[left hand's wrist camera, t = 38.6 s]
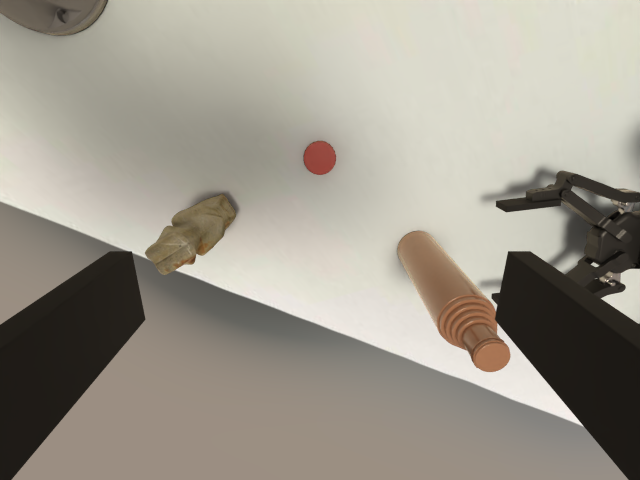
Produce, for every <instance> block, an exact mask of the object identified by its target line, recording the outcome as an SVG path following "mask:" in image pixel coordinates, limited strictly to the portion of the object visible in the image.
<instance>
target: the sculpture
mask: <svg viewBox="0 0 640 480" xmlns="http://www.w3.org/2000/svg"><path fill="white" fill-rule="evenodd" d="M235 217H236V213H235V210H234V209H233V207H232V206H231V205H230V203H229V202H228V200H227V198H226V197H225V196H224V194H221V195H218V196H216V197H212V198H209V199H206V200H204V201H202V202H200V203H198V204H196V205H194V206H192V207H190V208H188V209H185V210H183V211H180V212H178V213H177V214H176V215H175V216H174V217H173V218H172V225H173V226H167V227H165V228H164V230H163V232H162V233H161V235H160V237H159V239H158V240H157V242H156V243H154V244H153V245H151V246H150V247H149V248H148V249H147V250H146V252H145V254H146V256H147V258H148V259H150V260H151V261H152V262H153V263H154V264H155V266H156V267H157V269H158V271H159V272H160V273H161V274H163V275H166V274H168V273H170V272H172V271H174V270H176V269H177V268H179V267H181V266H182V265H184V264H190V265H192V264H194V262H195V258H196V253H197V254H198V255H201V256H203V255H205V254H206V253H207V252H208V251H209V250H210V249H212V248H213V247H214V246H215V244H216V243H217V242H218V241H219V240H220V239H221V238H222V237H223V236H224V232H225V229H226V228H227V227H229V225H230V224H231V223H232V222H233V220H234V219H235Z"/></svg>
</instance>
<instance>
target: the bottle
mask: <svg viewBox="0 0 640 480" xmlns="http://www.w3.org/2000/svg"><path fill="white" fill-rule="evenodd" d="M397 252H398V256H399V259H400V260H401V262H402V264H403V266H404V268H405V270H406V272H407V274H408V275H409V277H410V279H411V281H412V283H413V285H414V287H415V288H416V290H417V292H418V294H419V296H420V298H421V300H422V301H423V303H424V305H425V307H426V309H427V311H428V313H429V314H430V316H431V318H432V320H433V322H434V324H435V326H436V327H437V329H438V331H439V333H440V335H441V336H442V337H443V338H444V339H445V340H446V341H448V342H449V343H450V344H452V345H454V346H457V347H460V348H462V349H464V350H467V351H468V353H469V354H470V356H471V359H472V361H473V363H474V365H475V366H476V367H477V368H479V369H481V370H482V371H485V372H495V371H498V370H500V369H502V368H503V367H505V366H506V365H507V363H508V362H509V360H510V350H509V347H508V346H507V345H506V344H505V343H504V341H503V340H502V339H500V338H499V336H498V335H497V322H496V321H495V315H496V311H495V309H494V306H493V305H492V303H491V302H490V301H489V300H488V299H487V298H486V297H485V295H484V294H483V293H482V292H481V291H480V290H479V289H478V288H477V286H476V285H475V284H474V283H473V282H472V281H471V280H470V279H469V277H468V276H467V275H466V274H465V273H464V272H463V271H462V270H461V268H460V267H459V266H458V265H457V264H456V263H455V262H454V261H453V259H452V258H451V257H450V256H449V255H448V254H447V253H446V252H445V250H444V249H443V248H442V247H441V246H440V245H439V244H438V243H437V242H436V240H435V239H434V238H433V237H432V236H431V235H430V234H428V233H426V232H423V231H414V232H411V233H409V234H407V235H405V236H404V237H403V238H402V239H401V241H400V242H399V245H398V249H397Z"/></svg>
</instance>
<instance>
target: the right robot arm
mask: <svg viewBox="0 0 640 480" xmlns="http://www.w3.org/2000/svg"><path fill="white" fill-rule="evenodd" d="M556 178H557V181H556V183H555V184H554V185H553V184H550V185H548V186H547V188H539V189H531V190H528V191H526V197H525V198H517V199H508V200H500V201H496V207H498V208H500V209H501V210H503V211H505V212H512V211H521V210H529V209H537V208H546V207H554V206H561V202H562V203H564V204H565V205H566V206H568V207H569V208H570V209H572V210H573V211H574V212H576V213H577V214H578V215H580V216H581V217H582V218H584V220H585V221H586V222H588V223H589V224H590V225H592V226H593V227H592V229H591V230H590V232H587V245H586V247H585V251H584V253H585V254H586V256H584V257H583V258H582V259H580V260H579V261H578V265H577V266H576V267H575V268H573V269H572V270H571V271H570V272H568V273H567V274H566V276H568V277H569V278H571V279H572V280H574V281H575V282H577V283H578V284H579V285H581V286H582V287H584V288H585V289H587V290H588V291H590V292H591V293H593V294H594V295H596V296H597V297H599V298H602V297H604V296H606V295H609V294H614V293H619V292H623V291H624V290H625V288H626V287H625V285H624V284H622V283H620V275H621V273H622V272H624V271H626V270H628V269H640V211H633V207H634V204H635V203H637V202H640V193H639V192H635V191H632V190H627V189H614V188H612V187H609V186H607V185H604V184H601V183H599V182H596V181H594V180H591V179H588V178H586V177H583V176H581V175H578V174H574V173H570V172H566V171H559V172H558V173H557V175H556ZM572 186H576V187H578V188H581V189H584V190H586V191H589V192H592V193H594V194H597V195H599V196H602V197H606V198H609V199H611V202H613V205H615V206H618V208H619V210H617V211H615V212H613V213H612V214H610V215H609V216H607V217H605V216H604V215H602V214H601V213H600V212H598V211H597V210H596V209H594V208H593V207H592V206H591V205H589V204H588V203H587V202H585V201H584V200H583V199H581V198H580V197H579V196H577V195H576V194H575V193H574V192H572V191H571V188H572ZM632 211H633V212H632ZM593 262H594V263H596V264H598V265H600V266H598V267H594V266H592V265H590V264H592V263H593ZM595 278H597V279H595ZM499 295H500V293H494V294H492V299H493V300H494V301H495V302H496V304H497V305H498V300H499Z"/></svg>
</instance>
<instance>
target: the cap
mask: <svg viewBox="0 0 640 480" xmlns="http://www.w3.org/2000/svg"><path fill="white" fill-rule="evenodd" d="M335 161H336V155H335V151H334V150H333V147H331V145H330V144H328V143H326V142H324V141H316V142H313V143H312V144H310V145H309V146H308V147H307V149H306V150H305V154H304V163H305V166H306V167H307V169H308V170H309V171H310V172H312V173H314V174H317V175H322V174H326V173H328V172H329V171H330V170H331V169H332V168H333V167H334V165H335Z"/></svg>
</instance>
